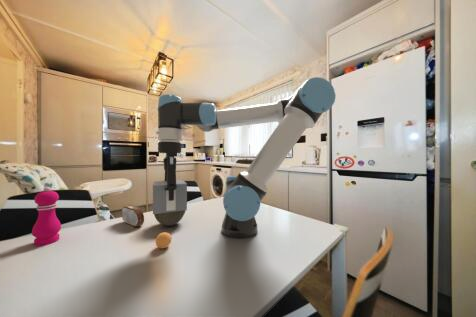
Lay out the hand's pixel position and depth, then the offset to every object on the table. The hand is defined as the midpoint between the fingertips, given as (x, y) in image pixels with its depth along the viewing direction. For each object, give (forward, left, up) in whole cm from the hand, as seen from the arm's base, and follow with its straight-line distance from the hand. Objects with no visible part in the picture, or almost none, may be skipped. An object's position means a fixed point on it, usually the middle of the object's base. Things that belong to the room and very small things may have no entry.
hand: (169, 205), depth 61 cm
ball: (+2, 0, -12) cm, 12 cm away
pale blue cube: (0, 0, -1) cm, 1 cm away
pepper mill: (+40, -22, -14) cm, 48 cm away
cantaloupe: (-2, -21, -14) cm, 26 cm away
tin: (+14, -28, -14) cm, 34 cm away
